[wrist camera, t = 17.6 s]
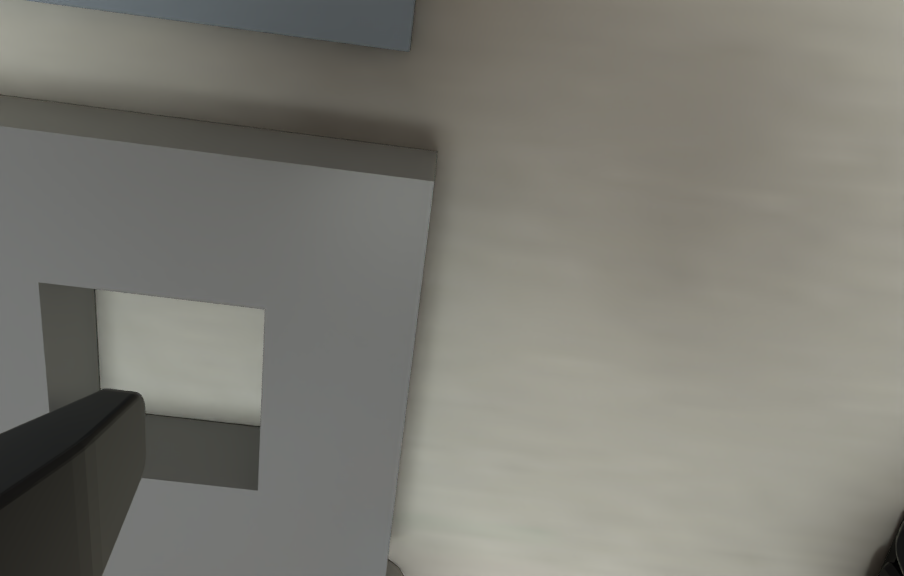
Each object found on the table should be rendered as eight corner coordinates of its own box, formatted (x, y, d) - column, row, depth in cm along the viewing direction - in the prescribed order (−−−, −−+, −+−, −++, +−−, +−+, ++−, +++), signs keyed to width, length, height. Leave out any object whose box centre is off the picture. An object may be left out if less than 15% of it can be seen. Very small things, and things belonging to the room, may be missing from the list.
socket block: (463, 155, 21) (467, 275, 13) (400, 613, 27) (377, 880, 19) (-63, 86, 20) (-395, 169, 12) (-2, 571, 26) (-196, 830, 19)
